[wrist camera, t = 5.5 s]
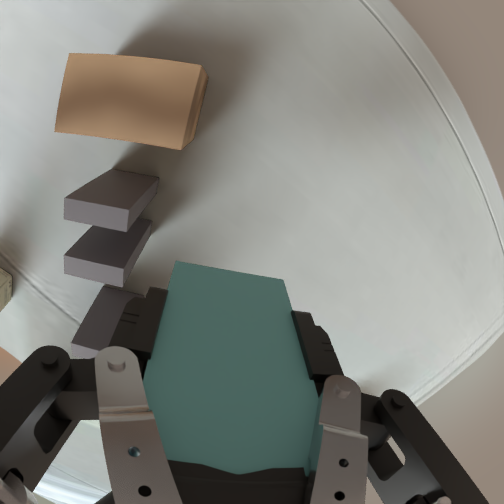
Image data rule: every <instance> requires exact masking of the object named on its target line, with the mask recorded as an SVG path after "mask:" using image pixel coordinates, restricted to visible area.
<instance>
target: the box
mask: <svg viewBox="0 0 504 504" xmlns="http://www.w3.org/2000/svg"><path fill="white" fill-rule="evenodd" d="M11 292H12V276H11V275H10V274H8V273H7V272H5V271H4V270H3V269H1V268H0V312H1V310H2V309H3V308H4V307H5V306H6V305H7V304H8V302H9V301H10V300H11Z"/></svg>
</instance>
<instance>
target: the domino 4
mask: <svg viewBox="0 0 504 504" xmlns="http://www.w3.org/2000/svg"><path fill="white" fill-rule="evenodd" d="M167 290H168V295H167V299H166V303H165V306H164V310H163V314H162V317H161V321H160V325H159V329H158V333H157V336H156V340H155V344H154V348H153V352H152V356H151V360H149V359H148V362H147V366H146V370H145V374H144V378H143V386H144V390H145V395H146V399H147V403H148V407H149V409H151V410H152V412H153V414H154V417H155V421H156V425H157V428H158V432H159V435H160V438H161V442H162V445H163V448H164V451H165V455H166V458H167V459H168V460H174V461H181V462H189V463H197V464H203V465H207V466H210V467H213V468H216V469H220V470H223V471H227V472H230V473H234V474H245V473H251V472H256V471H261V470H265V469H270V468H299V467H304V471H305V476H308V477H309V473H310V468H311V460H310V459H308V455H309V450H310V445H311V440H312V434H313V429H314V423H315V417H316V412H317V405H318V399H319V398H318V394H317V391H316V387H315V384H314V380H310V379H309V375H308V372H307V368H306V365H305V361H304V357H303V354H302V350H301V347H300V343H299V340H298V336H297V333H296V329H295V326H294V323H293V319H292V316H291V311H292V307H291V303H290V300H289V297H288V294H287V290H286V287H285V284H284V281H283V280H282V279H276V278H270V277H264V276H258V275H253V274H247V273H241V272H235V271H230V270H224V269H218V268H213V267H207V266H202V265H196V264H191V263H185V262H180V261H176V262H175V265H174V269H173V272H172V275H171V278H170V282H169V285H168V289H167Z"/></svg>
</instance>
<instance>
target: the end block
mask: <svg viewBox="0 0 504 504" xmlns="http://www.w3.org/2000/svg"><path fill="white" fill-rule="evenodd" d="M208 79H209V77H208V75H207V74H206V72H205V70H204V69H203V67H202V65H197V64H191V63H185V62H178V61H171V60H164V59H156V58H147V57H137V56H125V55H110V54H82V53H69V57H68V61H67V65H66V69H65V74H64V78H63V83H62V88H61V93H60V99H59V104H58V110H57V117H56V124H55V131H54V132H61V133H70V134H79V135H87V136H95V137H103V138H110V139H117V140H124V141H130V142H137V143H143V144H149V145H155V146H161V147H166V148H172V149H177V150H182V149H183V148H184V147H185V146H186V145H188V144H189V143H190V142H191V141H192V140H193V139H194V135H195V131H196V126H197V122H198V118H199V114H200V110H201V106H202V102H203V98H204V94H205V90H206V86H207V82H208Z"/></svg>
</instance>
